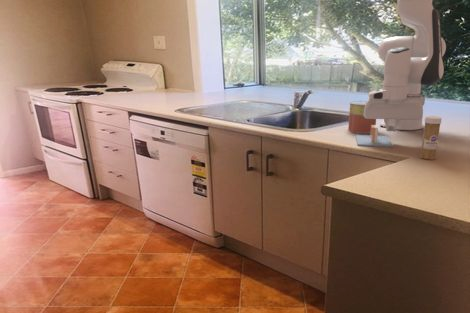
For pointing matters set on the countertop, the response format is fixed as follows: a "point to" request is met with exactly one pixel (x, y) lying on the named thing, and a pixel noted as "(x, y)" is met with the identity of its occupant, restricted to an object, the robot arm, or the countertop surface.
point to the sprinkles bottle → (430, 137)
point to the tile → (374, 133)
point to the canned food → (359, 118)
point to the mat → (366, 141)
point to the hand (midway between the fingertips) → (390, 130)
